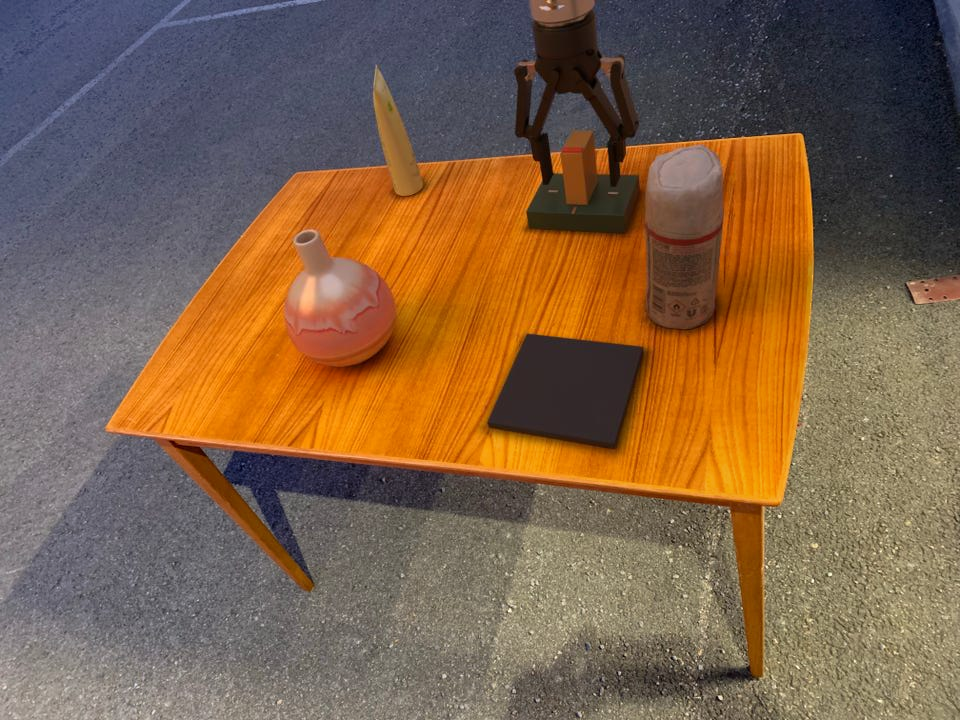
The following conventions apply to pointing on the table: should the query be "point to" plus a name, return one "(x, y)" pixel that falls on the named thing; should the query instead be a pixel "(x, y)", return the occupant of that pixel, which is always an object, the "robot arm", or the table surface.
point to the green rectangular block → (585, 206)
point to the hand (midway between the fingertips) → (581, 180)
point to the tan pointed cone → (395, 141)
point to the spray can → (683, 236)
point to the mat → (568, 390)
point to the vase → (337, 306)
